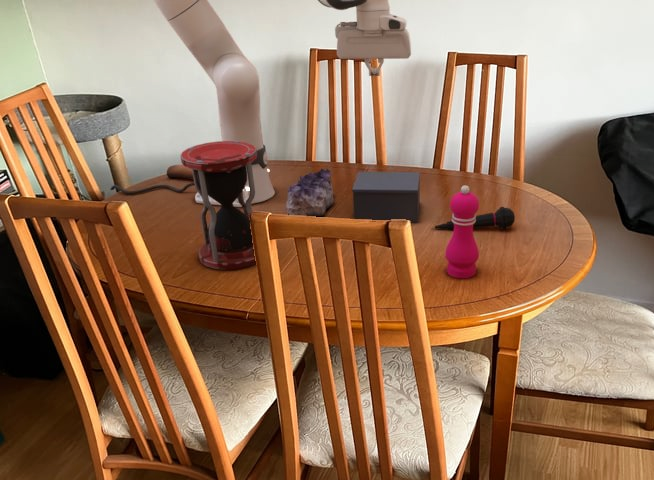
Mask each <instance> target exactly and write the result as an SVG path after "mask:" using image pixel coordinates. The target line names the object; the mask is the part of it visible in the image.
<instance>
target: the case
mask: <svg viewBox="0 0 654 480" xmlns="http://www.w3.org/2000/svg"><path fill="white" fill-rule="evenodd" d="M420 181H421V176H420V177H419V186H418V193H377V192H352V206H353V219H354V218H355V219H372V220H391V219H406V220H410V221H411V222H410V223H418V221H419V213H420V204H421V203H420V201H421V200H420V198H421V197H420V194H421V192H420V191H421V190H420V189H421V187H420V186H421V185H420V184H421V183H420Z"/></svg>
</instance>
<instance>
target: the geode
mask: <svg viewBox="0 0 654 480" xmlns="http://www.w3.org/2000/svg"><path fill="white" fill-rule="evenodd" d="M331 177H332V172H331V171H330V169H329V168H326V169H324V168H320V170H318V171H317V172H314V173H313V172H309V173H308V174H305V175H304V176H303V175H300V176H299V179H298V180H297V182H295V183H294V184H292V185H289V187H288V188H287V199H286V201H285V204H286V205H285V208H286V215H287V214H291V215H307V217H320V216H324V215H325V214H326V212H327V209H329V208H330V207H331V206H333V205H334V204H335V199H334V194H335V193H334V189H333V184H332V179H331Z"/></svg>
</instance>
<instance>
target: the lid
mask: <svg viewBox="0 0 654 480" xmlns="http://www.w3.org/2000/svg"><path fill="white" fill-rule="evenodd" d="M419 177H420V178H421V173H420V172H419V171H415V172H414V171H358V172H357V175H356V178H355V181H354V183H353V185H352V189H351V193H353V192H377V193H418V186H419Z"/></svg>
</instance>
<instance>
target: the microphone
mask: <svg viewBox="0 0 654 480" xmlns="http://www.w3.org/2000/svg"><path fill="white" fill-rule="evenodd" d="M515 218H516V217H515V213H514V211H513V210H512V208H509V207H505V206H500V207H499V208H498V209H496V211H495V212H488V213H483V214H477V215H476V218H475V219H476V222H475V223H474V224H473V229H477V228H490V227H495V226H496V227H498V228H500V229H501V230H503V231H504V230H507V228H510V227H512V226H513V224H514V223H515V220H516V219H515ZM434 229H442V230H443V229H447V230H453V231H454V223H453V222H452V219H451V220H449V221H447V222H445V223H441V224H437V225H434Z"/></svg>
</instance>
